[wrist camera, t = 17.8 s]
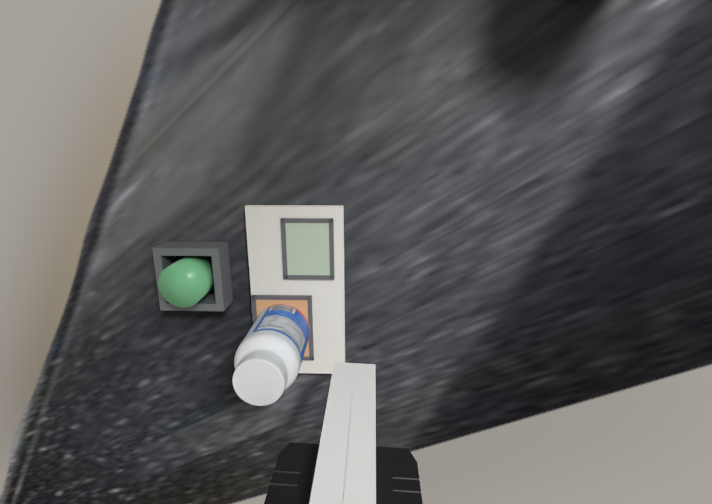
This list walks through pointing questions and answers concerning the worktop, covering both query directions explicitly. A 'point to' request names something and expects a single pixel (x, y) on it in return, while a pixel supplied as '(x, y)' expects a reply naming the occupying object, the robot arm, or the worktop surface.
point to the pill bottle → (270, 354)
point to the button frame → (220, 265)
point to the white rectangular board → (301, 272)
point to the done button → (186, 281)
